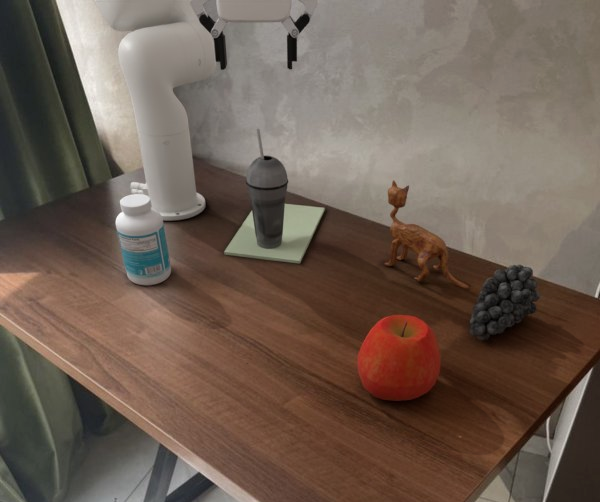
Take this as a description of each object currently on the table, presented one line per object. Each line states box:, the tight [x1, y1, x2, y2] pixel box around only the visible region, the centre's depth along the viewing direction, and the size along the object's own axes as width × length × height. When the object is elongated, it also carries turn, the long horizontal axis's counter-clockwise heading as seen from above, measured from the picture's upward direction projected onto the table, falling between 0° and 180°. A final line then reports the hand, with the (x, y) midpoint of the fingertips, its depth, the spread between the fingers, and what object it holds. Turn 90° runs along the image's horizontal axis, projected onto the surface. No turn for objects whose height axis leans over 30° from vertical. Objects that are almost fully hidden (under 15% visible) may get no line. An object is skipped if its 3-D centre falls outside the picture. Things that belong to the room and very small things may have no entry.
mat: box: [223, 203, 326, 265], centre depth 115 cm, size 14×22×1 cm, turn 167°
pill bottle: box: [115, 194, 172, 286], centre depth 98 cm, size 8×7×14 cm
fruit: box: [469, 264, 541, 341], centre depth 90 cm, size 9×8×15 cm
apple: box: [357, 314, 442, 402], centre depth 78 cm, size 11×11×11 cm
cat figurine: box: [383, 179, 470, 290], centre depth 99 cm, size 18×7×14 cm, turn 46°
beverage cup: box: [245, 128, 289, 249], centre depth 104 cm, size 7×7×20 cm
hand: (256, 67), depth 88 cm, fingers open, 9 cm apart
